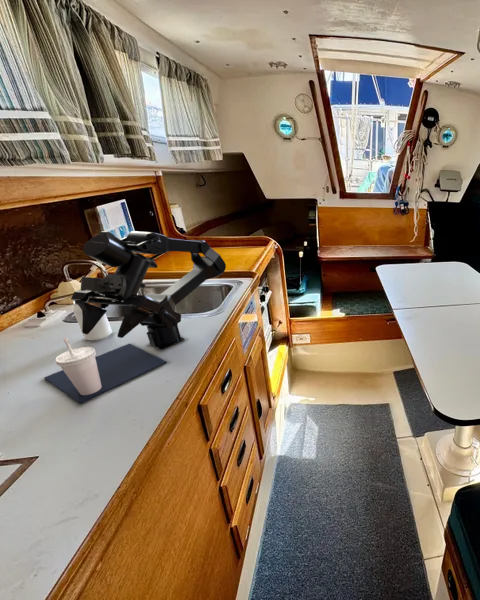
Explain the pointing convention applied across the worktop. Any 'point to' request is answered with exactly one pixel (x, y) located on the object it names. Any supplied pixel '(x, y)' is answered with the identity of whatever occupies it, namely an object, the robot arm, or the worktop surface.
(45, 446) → the worktop surface
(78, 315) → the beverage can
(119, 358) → the mat
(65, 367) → the smoothie
